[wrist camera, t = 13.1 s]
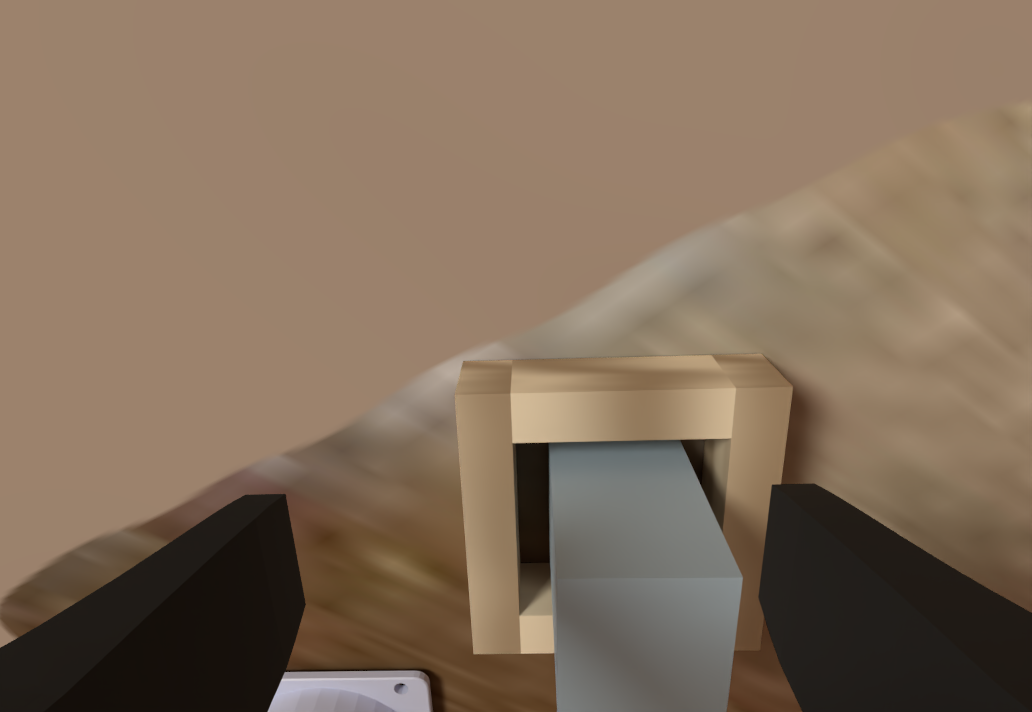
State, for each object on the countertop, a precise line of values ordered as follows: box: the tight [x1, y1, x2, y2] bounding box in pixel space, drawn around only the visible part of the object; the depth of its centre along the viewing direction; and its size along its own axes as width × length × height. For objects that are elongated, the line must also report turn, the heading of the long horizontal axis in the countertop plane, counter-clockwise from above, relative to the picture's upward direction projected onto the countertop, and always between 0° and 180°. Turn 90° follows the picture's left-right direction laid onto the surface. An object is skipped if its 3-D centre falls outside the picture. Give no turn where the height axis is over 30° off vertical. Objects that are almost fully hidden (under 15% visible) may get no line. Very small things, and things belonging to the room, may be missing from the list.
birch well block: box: [455, 354, 793, 654], centre depth 20 cm, size 9×9×2 cm
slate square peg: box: [548, 440, 743, 712], centre depth 18 cm, size 4×4×7 cm
